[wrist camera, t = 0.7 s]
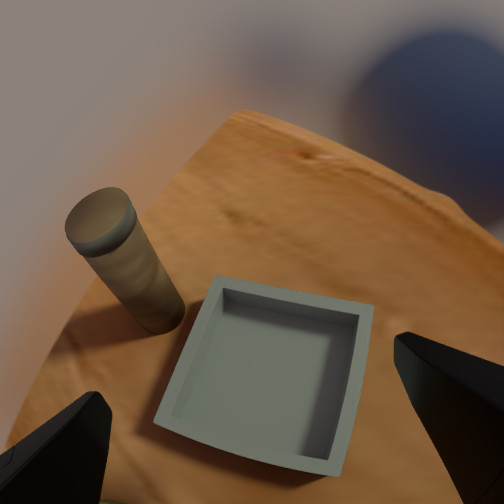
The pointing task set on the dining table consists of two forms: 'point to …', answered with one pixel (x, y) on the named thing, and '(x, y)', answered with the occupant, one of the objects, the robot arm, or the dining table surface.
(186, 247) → the dining table surface
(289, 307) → the box
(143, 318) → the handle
